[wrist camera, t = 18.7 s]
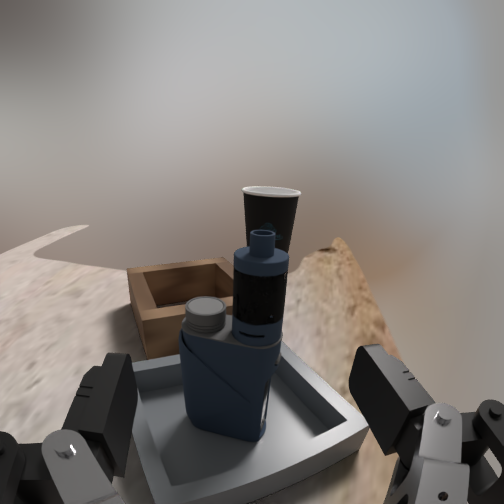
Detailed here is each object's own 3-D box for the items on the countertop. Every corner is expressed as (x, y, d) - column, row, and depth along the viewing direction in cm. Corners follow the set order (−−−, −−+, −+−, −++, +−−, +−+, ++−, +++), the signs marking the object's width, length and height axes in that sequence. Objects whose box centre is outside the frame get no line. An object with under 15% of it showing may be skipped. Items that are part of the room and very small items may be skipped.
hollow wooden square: (148, 362, 23) (142, 320, 22) (130, 302, 32) (126, 268, 31) (268, 336, 28) (272, 297, 26) (222, 289, 37) (223, 257, 36)
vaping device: (265, 447, 15) (288, 244, 11) (180, 425, 16) (162, 229, 13) (274, 417, 18) (296, 229, 14) (196, 399, 19) (189, 218, 15)
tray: (166, 526, 10) (157, 508, 9) (123, 392, 19) (116, 364, 18) (359, 449, 15) (371, 423, 14) (270, 358, 25) (273, 332, 24)
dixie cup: (275, 255, 50) (279, 186, 46) (305, 273, 43) (313, 194, 40) (229, 261, 46) (231, 186, 43) (255, 282, 39) (260, 194, 36)
